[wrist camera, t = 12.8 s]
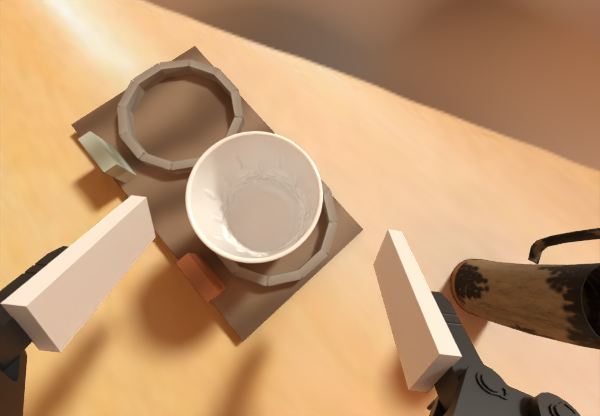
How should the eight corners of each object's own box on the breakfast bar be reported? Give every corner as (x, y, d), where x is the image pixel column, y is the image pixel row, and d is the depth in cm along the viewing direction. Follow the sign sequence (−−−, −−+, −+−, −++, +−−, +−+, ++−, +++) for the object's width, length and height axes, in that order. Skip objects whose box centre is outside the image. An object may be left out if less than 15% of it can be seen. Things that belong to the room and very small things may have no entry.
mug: (494, 327, 24) (688, 390, 13) (442, 302, 25) (586, 341, 13) (515, 253, 26) (703, 248, 14) (466, 230, 26) (612, 206, 15)
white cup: (224, 263, 23) (181, 266, 13) (226, 182, 25) (188, 131, 15) (309, 260, 24) (327, 259, 14) (305, 180, 25) (319, 130, 15)
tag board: (79, 129, 26) (42, 106, 22) (197, 53, 29) (184, 20, 25) (244, 337, 23) (236, 354, 19) (360, 230, 26) (373, 225, 22)
